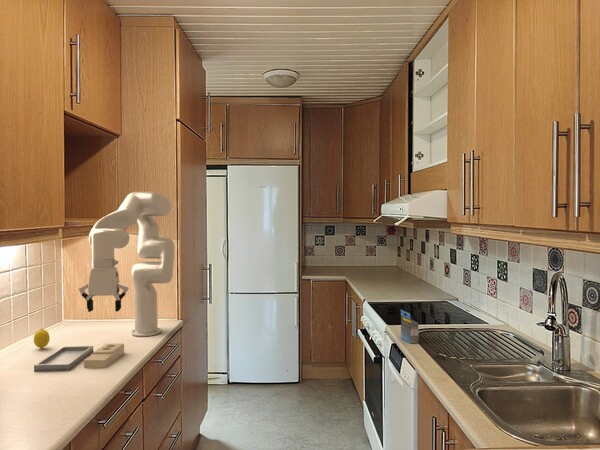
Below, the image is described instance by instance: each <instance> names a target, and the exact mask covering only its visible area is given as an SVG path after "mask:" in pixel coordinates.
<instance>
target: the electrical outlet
mask: <svg viewBox="0 0 600 450" xmlns="http://www.w3.org/2000/svg"><path fill="white" fill-rule="evenodd" d="M124 354H125V343H105V344H103V345H102V346H100V347H99V348H97V349H95V350H93V353H92V354H90V355H89V356H87V357H86V358H85V359H83V369H105V368H107V367H108V366H109V365H111V364H112V363H114V362H115V361H116V360H118V358H120V357H122V356H123V355H124Z"/></svg>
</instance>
